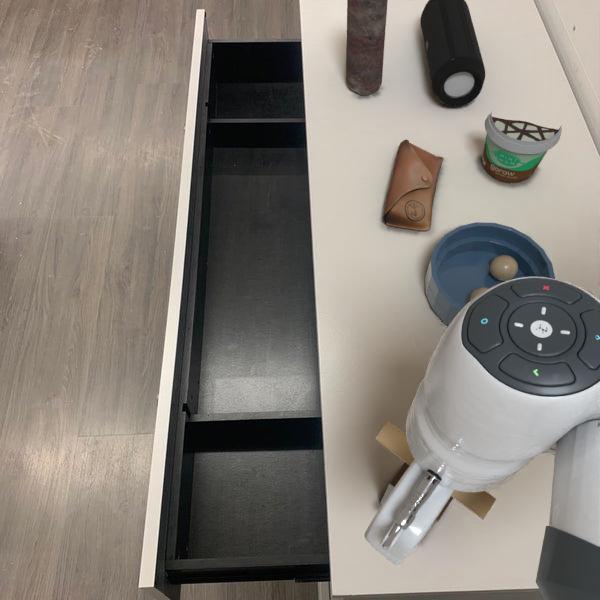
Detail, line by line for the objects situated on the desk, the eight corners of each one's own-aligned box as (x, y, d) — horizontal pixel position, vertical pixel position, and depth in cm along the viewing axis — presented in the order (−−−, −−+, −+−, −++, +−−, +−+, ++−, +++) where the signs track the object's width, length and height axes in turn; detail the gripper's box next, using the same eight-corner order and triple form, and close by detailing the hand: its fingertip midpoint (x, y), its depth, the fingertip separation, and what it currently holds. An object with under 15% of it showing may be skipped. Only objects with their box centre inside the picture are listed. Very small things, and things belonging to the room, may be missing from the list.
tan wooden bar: (494, 499, 50) (496, 499, 48) (482, 519, 49) (483, 519, 48) (388, 422, 54) (387, 420, 53) (376, 440, 54) (375, 438, 53)
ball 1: (482, 315, 80) (506, 310, 77) (467, 318, 78) (490, 313, 75) (476, 289, 81) (499, 283, 78) (461, 291, 78) (484, 285, 75)
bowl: (560, 283, 82) (576, 260, 77) (504, 363, 75) (517, 345, 70) (461, 229, 88) (470, 204, 83) (402, 298, 82) (407, 277, 77)
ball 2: (511, 256, 83) (524, 255, 79) (509, 281, 83) (521, 282, 79) (486, 254, 82) (497, 253, 78) (484, 280, 83) (495, 280, 79)
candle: (337, 86, 108) (339, -14, 91) (358, 68, 111) (364, -32, 94) (367, 101, 106) (375, 1, 89) (388, 82, 108) (400, -19, 91)
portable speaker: (415, 34, 117) (423, -13, 108) (461, 32, 116) (472, -14, 108) (428, 111, 103) (438, 66, 95) (480, 110, 103) (494, 64, 94)
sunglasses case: (433, 231, 87) (417, 205, 83) (394, 238, 91) (377, 213, 87) (444, 155, 96) (431, 128, 92) (408, 165, 100) (394, 139, 96)
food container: (467, 179, 94) (481, 135, 85) (473, 155, 97) (488, 110, 88) (539, 195, 91) (561, 151, 83) (543, 170, 94) (565, 125, 86)
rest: (442, 503, 66) (463, 482, 56) (420, 537, 64) (438, 521, 54) (402, 472, 68) (415, 446, 58) (379, 504, 66) (389, 483, 56)
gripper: (427, 577, 35) (400, 587, 47) (567, 356, 43) (513, 413, 54) (350, 512, 37) (343, 538, 49) (496, 313, 45) (460, 377, 57)
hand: (434, 471), depth 52 cm, fingers closed on tan wooden bar, 2 cm apart
